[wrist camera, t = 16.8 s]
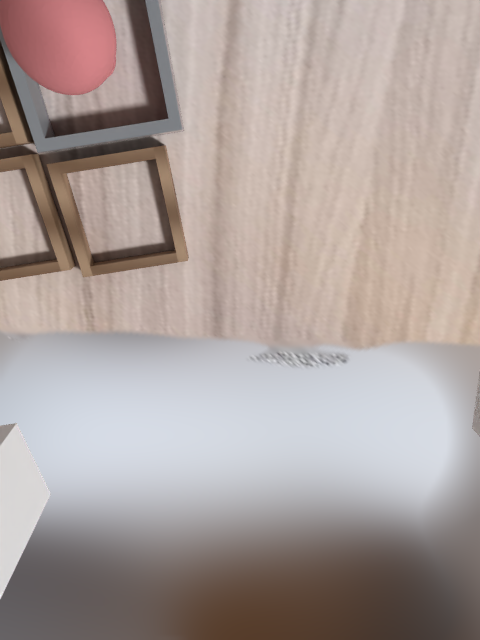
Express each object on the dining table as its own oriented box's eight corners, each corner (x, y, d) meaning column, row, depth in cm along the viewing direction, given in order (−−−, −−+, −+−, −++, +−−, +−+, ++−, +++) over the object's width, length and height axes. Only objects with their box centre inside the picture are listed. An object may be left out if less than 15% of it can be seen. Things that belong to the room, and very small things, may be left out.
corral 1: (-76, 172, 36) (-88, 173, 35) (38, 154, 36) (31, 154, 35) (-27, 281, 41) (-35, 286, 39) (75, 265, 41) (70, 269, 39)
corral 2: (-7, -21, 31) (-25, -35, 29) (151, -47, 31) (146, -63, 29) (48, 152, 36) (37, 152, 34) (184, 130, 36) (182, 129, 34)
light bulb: (95, 124, 35) (41, 111, 25) (36, 48, 33) (-53, -5, 22) (154, 73, 34) (125, 36, 23) (98, -10, 32) (36, -96, 21)
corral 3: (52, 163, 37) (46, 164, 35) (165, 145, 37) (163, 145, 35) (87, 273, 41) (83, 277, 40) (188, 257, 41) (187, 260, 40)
